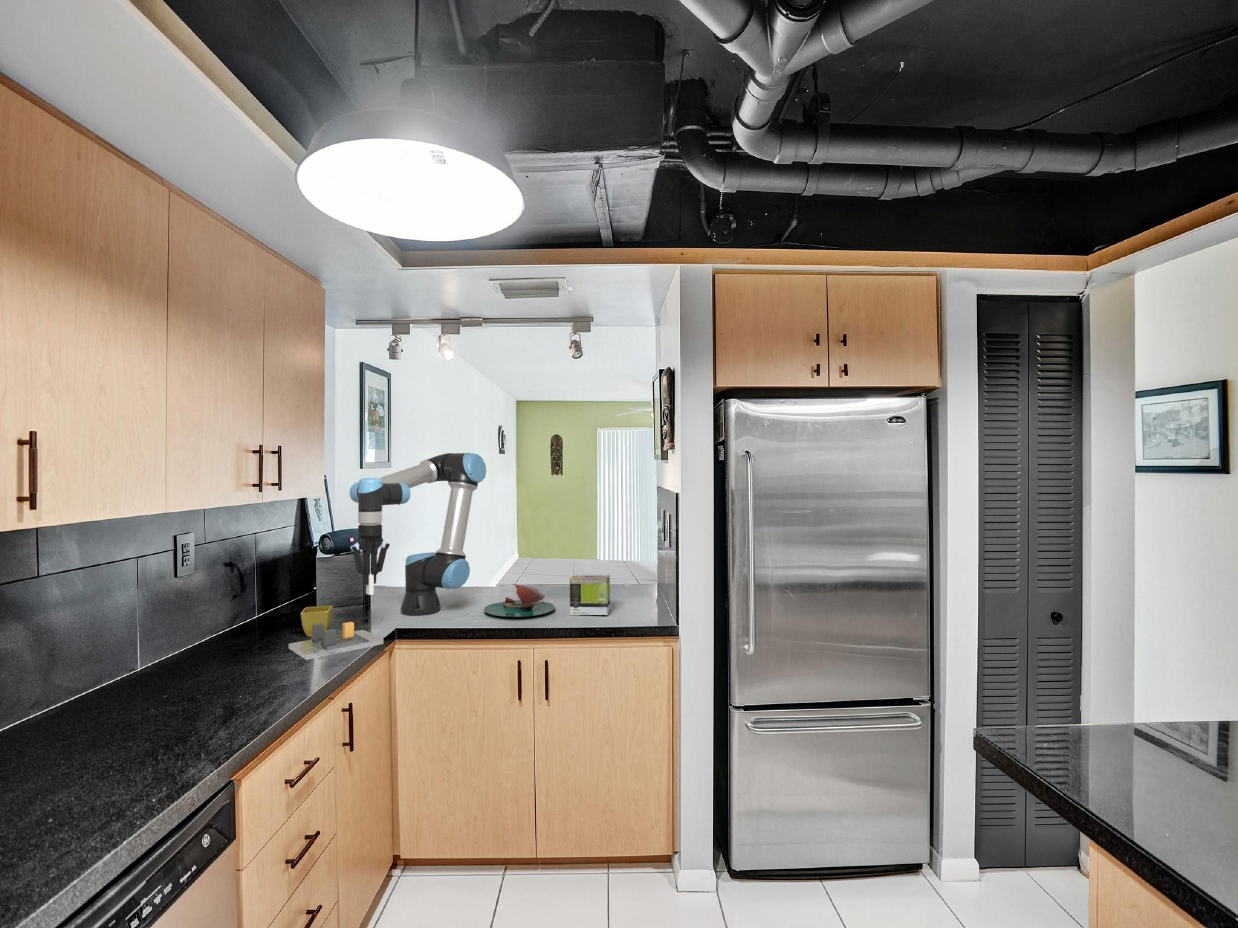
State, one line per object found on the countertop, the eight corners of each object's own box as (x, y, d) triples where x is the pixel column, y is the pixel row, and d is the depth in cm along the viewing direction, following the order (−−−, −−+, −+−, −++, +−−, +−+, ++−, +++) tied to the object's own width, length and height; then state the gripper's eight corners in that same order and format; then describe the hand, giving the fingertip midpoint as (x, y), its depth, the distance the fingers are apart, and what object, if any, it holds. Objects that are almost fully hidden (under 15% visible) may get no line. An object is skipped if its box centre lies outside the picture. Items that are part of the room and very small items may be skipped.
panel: (363, 633, 218) (363, 626, 218) (383, 643, 207) (383, 636, 207) (288, 648, 201) (288, 640, 201) (305, 659, 190) (305, 651, 190)
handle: (333, 644, 199) (333, 628, 199) (335, 646, 198) (335, 630, 198) (323, 646, 197) (323, 630, 197) (325, 647, 196) (325, 632, 196)
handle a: (321, 638, 207) (321, 623, 207) (324, 639, 205) (324, 624, 205) (312, 639, 204) (312, 624, 204) (314, 641, 203) (314, 625, 203)
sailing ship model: (538, 623, 234) (538, 593, 234) (470, 617, 241) (470, 588, 241) (564, 606, 261) (564, 579, 261) (503, 602, 268) (503, 575, 268)
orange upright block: (351, 636, 208) (351, 621, 208) (353, 638, 207) (353, 622, 207) (342, 638, 206) (342, 623, 206) (344, 639, 205) (344, 624, 205)
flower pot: (300, 639, 212) (300, 612, 211) (305, 632, 220) (305, 606, 220) (328, 637, 214) (328, 611, 214) (332, 630, 222) (332, 605, 222)
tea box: (610, 610, 254) (610, 574, 254) (607, 617, 244) (607, 578, 244) (573, 609, 255) (573, 573, 255) (569, 615, 245) (569, 578, 245)
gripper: (384, 521, 219) (383, 589, 219) (346, 524, 210) (345, 594, 210) (393, 523, 213) (393, 592, 213) (355, 526, 204) (354, 598, 204)
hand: (369, 593), depth 212 cm, fingers closed
